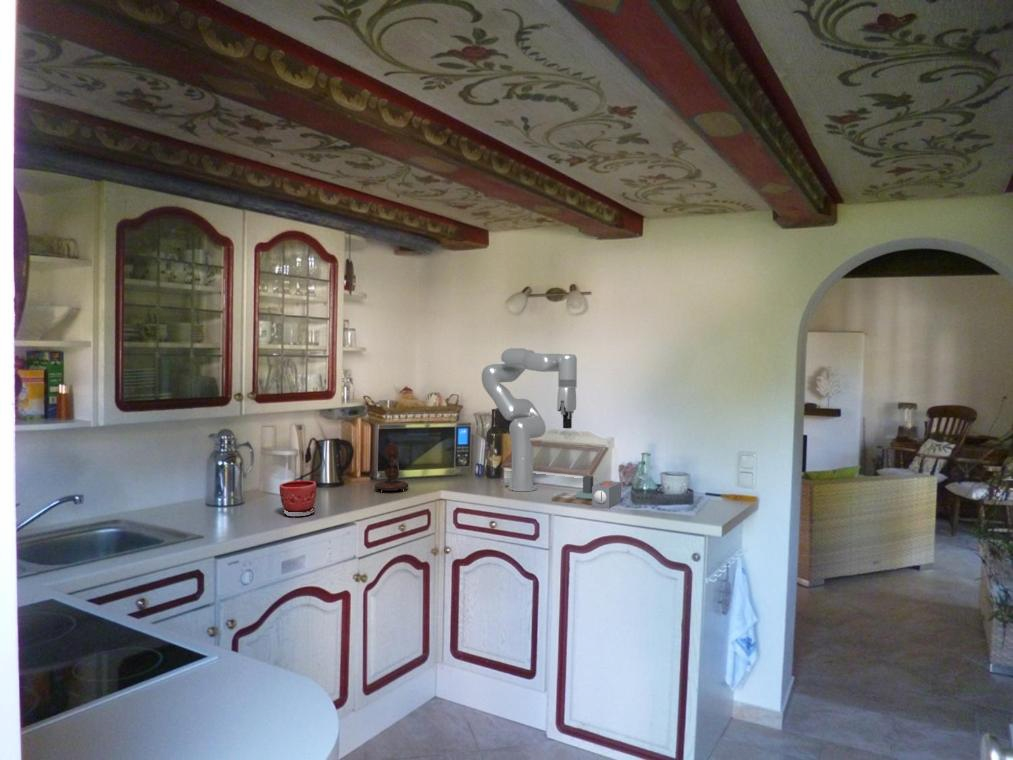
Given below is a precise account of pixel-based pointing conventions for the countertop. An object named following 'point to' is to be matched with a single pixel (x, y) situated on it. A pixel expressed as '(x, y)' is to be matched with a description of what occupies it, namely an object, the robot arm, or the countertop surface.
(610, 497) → the gauge cabinet
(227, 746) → the countertop surface
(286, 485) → the plant pot
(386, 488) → the dark wooden figurine
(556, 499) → the rail board
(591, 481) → the carriage
